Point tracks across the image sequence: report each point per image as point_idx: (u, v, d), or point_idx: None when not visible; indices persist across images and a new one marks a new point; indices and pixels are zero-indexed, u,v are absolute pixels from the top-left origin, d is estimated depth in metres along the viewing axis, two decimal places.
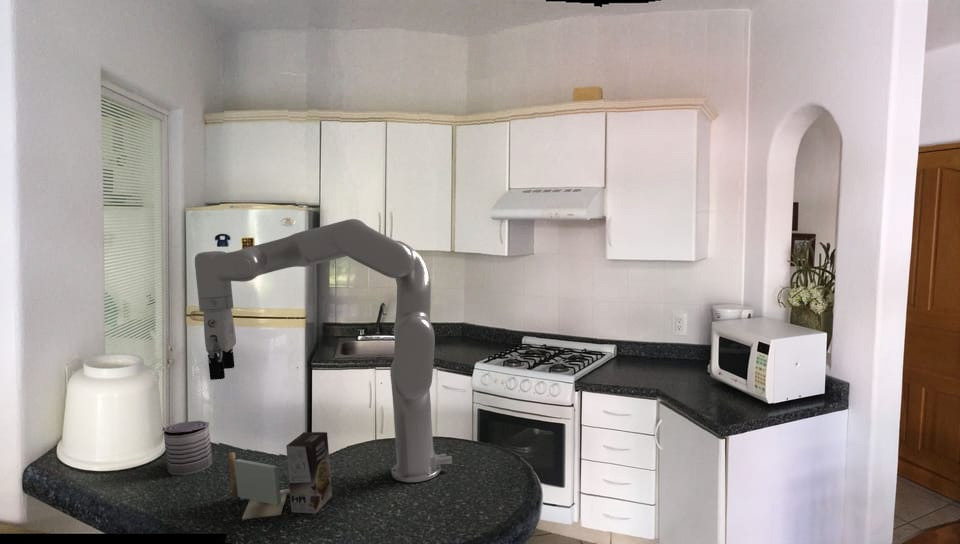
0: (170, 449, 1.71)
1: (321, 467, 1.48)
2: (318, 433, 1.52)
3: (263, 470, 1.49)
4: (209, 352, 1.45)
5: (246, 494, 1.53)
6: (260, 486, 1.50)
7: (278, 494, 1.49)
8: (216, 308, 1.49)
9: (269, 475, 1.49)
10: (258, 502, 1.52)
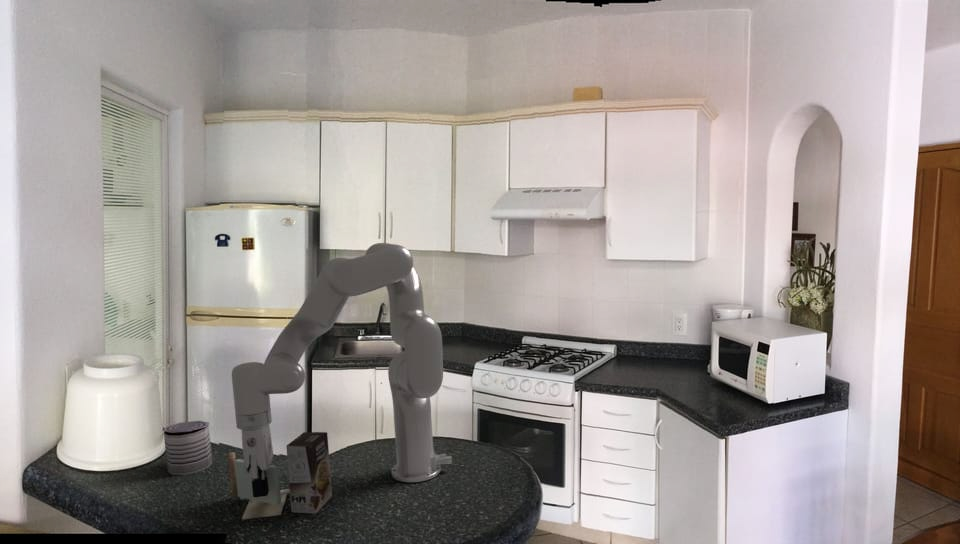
0: (170, 449, 1.71)
1: (321, 467, 1.48)
2: (319, 433, 1.52)
3: None
4: None
5: (246, 494, 1.53)
6: None
7: (278, 494, 1.49)
8: (255, 425, 1.41)
9: (270, 475, 1.49)
10: (258, 502, 1.52)
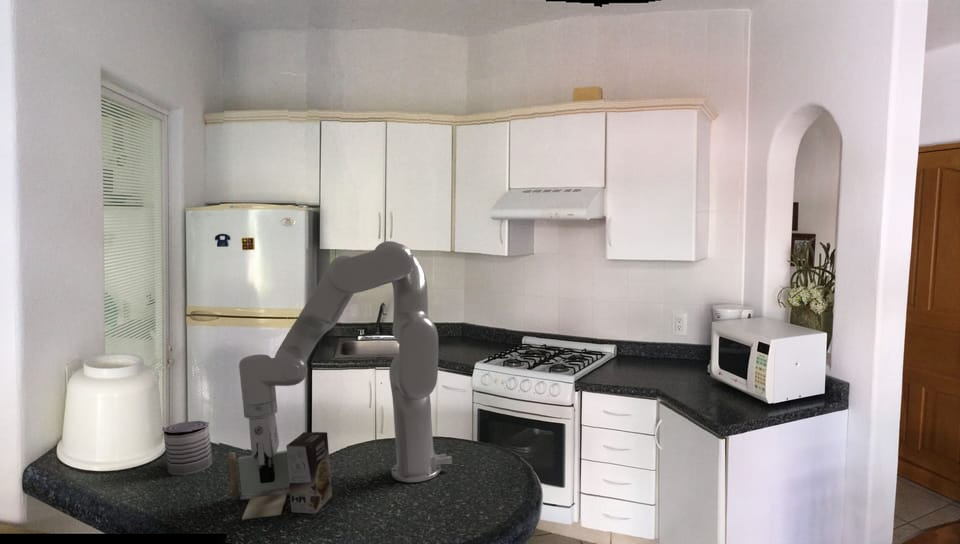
0: (170, 449, 1.71)
1: (321, 467, 1.48)
2: (319, 433, 1.52)
3: (277, 457, 1.57)
4: None
5: (253, 488, 1.56)
6: None
7: None
8: (262, 414, 1.48)
9: (286, 459, 1.57)
10: (258, 502, 1.52)
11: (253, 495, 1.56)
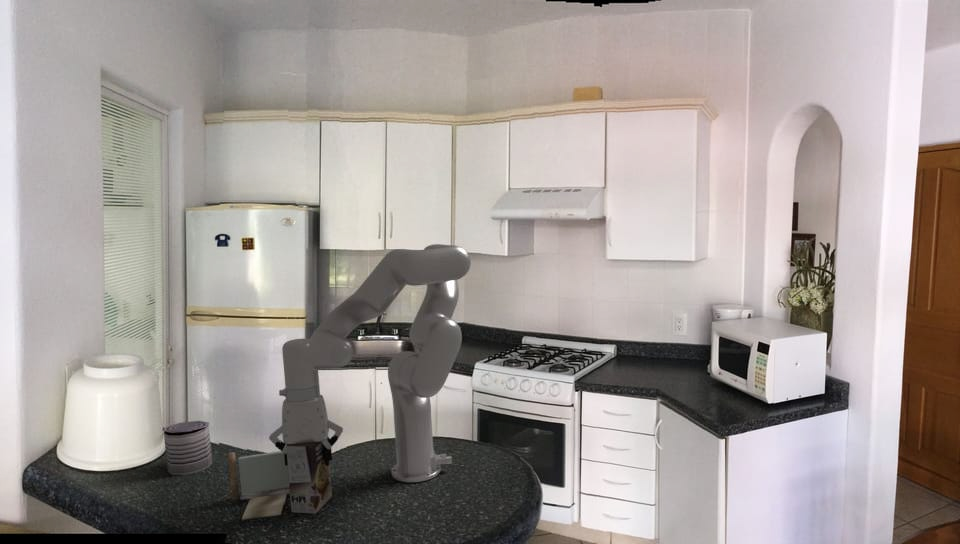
0: (170, 449, 1.71)
1: (321, 467, 1.48)
2: None
3: (277, 457, 1.57)
4: None
5: (253, 488, 1.56)
6: (273, 474, 1.57)
7: None
8: None
9: None
10: (258, 502, 1.52)
11: (253, 495, 1.56)
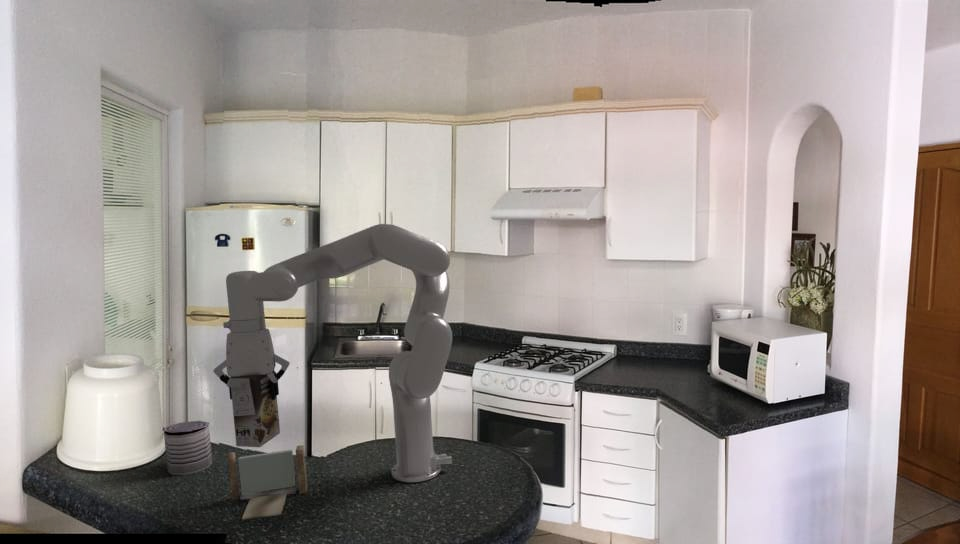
0: (170, 449, 1.71)
1: (266, 401, 1.46)
2: None
3: (277, 457, 1.57)
4: None
5: (253, 488, 1.56)
6: (273, 474, 1.57)
7: (294, 475, 1.59)
8: None
9: (286, 459, 1.57)
10: (258, 502, 1.52)
11: (253, 495, 1.56)
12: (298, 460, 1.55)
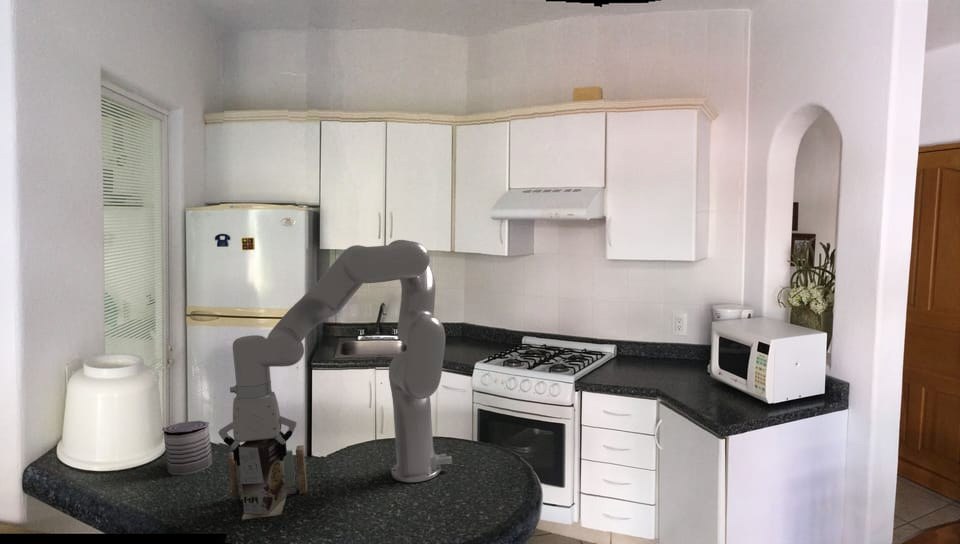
0: (170, 449, 1.71)
1: (274, 467, 1.48)
2: None
3: None
4: None
5: None
6: None
7: (294, 475, 1.59)
8: None
9: (286, 459, 1.57)
10: None
11: None
12: (298, 460, 1.55)
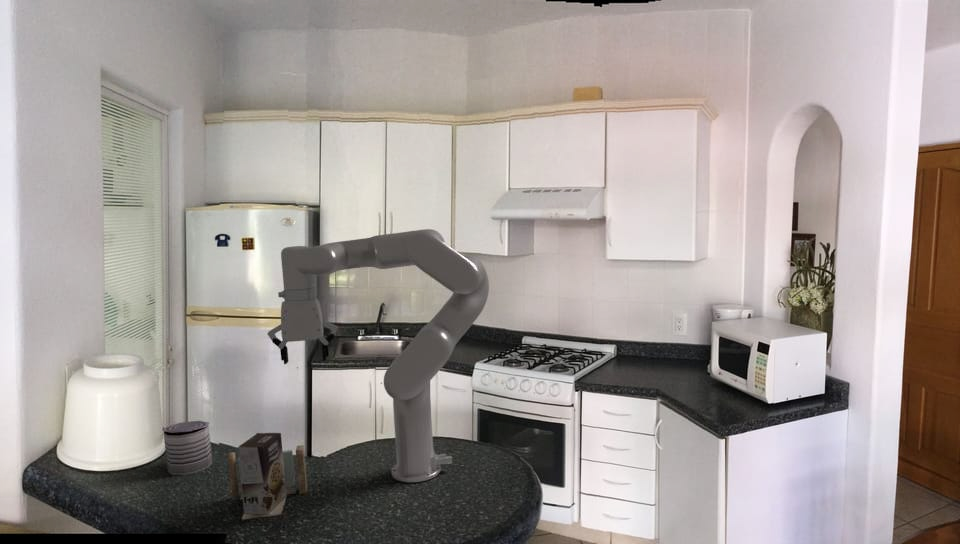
0: (170, 449, 1.71)
1: (274, 467, 1.48)
2: (272, 434, 1.52)
3: None
4: None
5: None
6: None
7: (294, 475, 1.59)
8: None
9: (286, 459, 1.57)
10: None
11: None
12: (298, 460, 1.55)
